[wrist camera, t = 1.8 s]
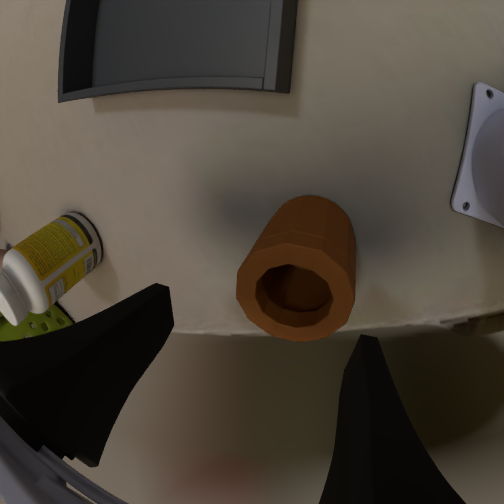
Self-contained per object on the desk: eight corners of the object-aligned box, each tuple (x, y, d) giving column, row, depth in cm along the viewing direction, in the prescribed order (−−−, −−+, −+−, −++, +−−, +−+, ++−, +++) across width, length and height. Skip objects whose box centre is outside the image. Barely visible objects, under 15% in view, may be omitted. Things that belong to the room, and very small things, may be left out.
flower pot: (24, 286, 38) (60, 347, 41) (-33, 325, 26) (10, 392, 29) (46, 265, 32) (93, 343, 35) (-30, 314, 20) (28, 403, 23)
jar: (361, 205, 16) (368, 261, 11) (342, 279, 19) (335, 351, 13) (275, 187, 17) (239, 232, 12) (266, 261, 20) (233, 325, 15)
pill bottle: (56, 212, 25) (-26, 265, 16) (92, 208, 23) (-6, 272, 14) (75, 264, 28) (4, 324, 18) (111, 268, 26) (32, 342, 16)
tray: (301, -62, 9) (290, -90, 6) (289, 93, 14) (275, 90, 11) (103, -24, 12) (72, -31, 9) (91, 97, 18) (57, 103, 15)
